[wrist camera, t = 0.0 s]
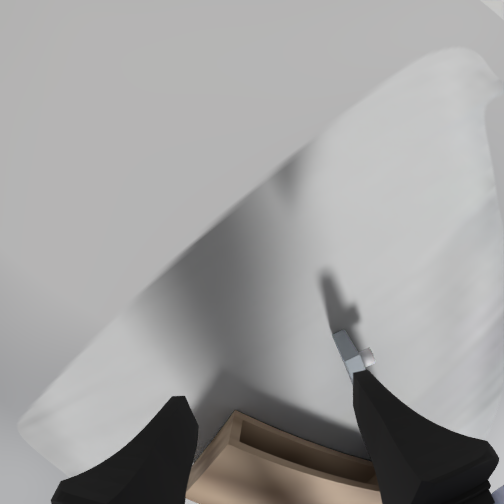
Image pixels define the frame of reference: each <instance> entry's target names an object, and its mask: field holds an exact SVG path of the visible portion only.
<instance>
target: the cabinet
mask: <svg viewBox="0 0 504 504" xmlns="http://www.w3.org/2000/svg"><path fill="white" fill-rule="evenodd" d="M185 498H187V499H189V500H191V501H194V502H196V503H199V504H382V499H381V495H380V490H379V485H378V481H377V477H376V472H375V469H374V466H373V463H372V462H371V461H368V460H364V459H361V458H357V457H354V456H351V455H347V454H344V453H341V452H338V451H335V450H332V449H329V448H326V447H323V446H320V445H318V444H315V443H312V442H309V441H307V440H304V439H301V438H299V437H296V436H294V435H291V434H289V433H286V432H284V431H281V430H279V429H276V428H274V427H272V426H269V425H267V424H265V423H262V422H260V421H258V420H256V419H253V418H251V417H249V416H247V415H245V414H243V413H240V412H238V411H236V410H235V411H234V412H233V414H232V415H231V416H230V418H229V419H228V420H227V422H226V423H225V424H224V426H223V427H222V428H221V430H220V431H219V432H218V434H217V435H216V436H215V437H214V439H213V440H212V441H211V443H210V444H209V445H208V446H207V448H206V449H205V450H204V452H203V453H202V454H201V455H200V457H199V458H198V459H197V460H196V462H195V463H194V464H193V465H192V468H191V472H190V476H189V480H188V484H187V489H186V497H185Z"/></svg>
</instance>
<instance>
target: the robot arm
mask: <svg viewBox="0 0 504 504" xmlns="http://www.w3.org/2000/svg"><path fill="white" fill-rule="evenodd" d="M353 407H354V411H355V415H356V419H357V423H358V426H359V429H360V432H361V434H362V437H363V440H364V442H365V445H366V447H367V450H368V452H369V455H370V458H371V460H372V463H373V466H374V469H375V472H376V477H377V481H378V485H379V490H380V495H381V499H382V504H504V485H503V486H502V487H500V488H498V489H497V490H496V491H494V492H493V493H492V494H491V493H490V491H489V488H490V487H491V485H490V483H489V481H488V479H489V477H490V476H491V474H492V473H493V471H494V470H495V468H496V466H497V464H498V462H499V457H498V455H497V454H496V452H495V450H494V449H493V447H492V446H491V445H490V444H489V443H488V441H485V440H480V439H476V438H472V437H468V436H464V435H461V434H458V433H455V432H453V431H450V430H448V429H446V428H444V427H441V426H439V425H437V424H435V423H433V422H431V421H429V420H428V419H426V418H424V417H423V416H421V415H419V414H418V413H416V412H415V411H413V410H412V409H411V408H409V407H408V406H407V405H405V404H404V403H403V402H401V401H400V400H399V399H398V398H397V397H395V396H394V395H393V394H392V393H391V392H390V391H389V390H387V389H386V388H385V387H384V386H383V385H382V384H381V383H380V382H379V381H378V380H377V379H376V378H375V377H374V376H373V375H372V374H371V373H370V371H368V370H363V371H359V372H354V373H353ZM198 427H199V426H198V424H197V422H196V420H195V417H194V415H193V413H192V411H191V409H190V406H189V404H188V402H187V400H186V397H185V396H172V397H171V398H170V400H169V401H168V402H167V403H166V404H165V405H164V406H163V408H162V409H161V410H160V411H159V412H158V413H157V415H156V416H155V417H154V418H153V419H152V420H151V421H150V422H149V423H148V425H147V426H146V427H145V428H144V429H143V430H142V431H141V432H140V433H139V434H138V435H137V436H136V437H135V438H134V439H133V440H132V441H130V442H129V443H128V444H127V445H126V446H125V447H123V448H122V449H121V450H120V451H118V452H117V453H116V454H114V455H113V456H111V457H110V458H108V459H107V460H105V461H104V462H102V463H101V464H99V465H97V466H95V467H93V468H92V469H90V470H88V471H86V472H84V473H81V474H79V475H77V476H74V477H71V478H69V479H66V480H63V481H61V482H60V484H59V486H58V488H57V489H56V491H55V493H54V495H53V497H52V499H51V503H52V504H185V497H186V489H187V484H188V480H189V476H190V472H191V468H192V464H193V460H194V455H195V451H196V447H197V439H198Z"/></svg>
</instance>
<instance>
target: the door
mask: <svg viewBox="0 0 504 504" xmlns="http://www.w3.org/2000/svg"><path fill="white" fill-rule="evenodd" d="M332 336H333V338H334V341H335V343H336V346H337V348H338V350H339V353H340V355H341V357H342V360H343V362H344V365H345V367H346V370H347V372H348V374H349V377H350V379H351V382H352V384H353V373H354V372H359V371H363V370H365V368H366V367H368V366H370V365H372V364H374V363H376V361H375V358H374V355H373V353H372V351H371V349H370V348H367V349H365V350H363V351H361V352H359V353H358V351H357V349H356V348H355V346H354V344H353V343H352V341H351V339H350V338H349V336H348V334H347V333H346V331H345V330H341V331H339V332H337V333H335V334H333V335H332Z"/></svg>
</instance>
